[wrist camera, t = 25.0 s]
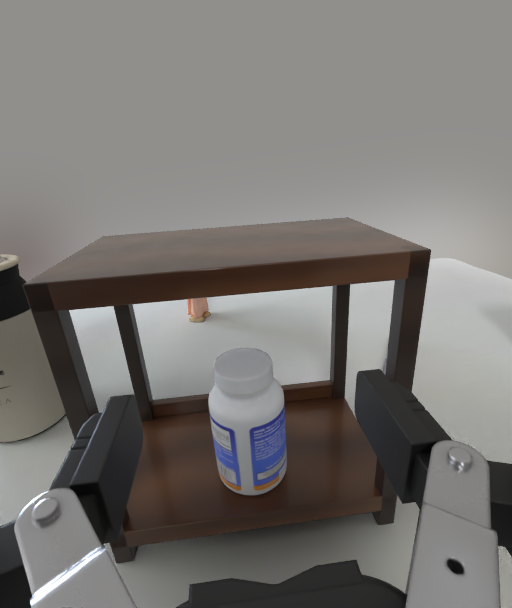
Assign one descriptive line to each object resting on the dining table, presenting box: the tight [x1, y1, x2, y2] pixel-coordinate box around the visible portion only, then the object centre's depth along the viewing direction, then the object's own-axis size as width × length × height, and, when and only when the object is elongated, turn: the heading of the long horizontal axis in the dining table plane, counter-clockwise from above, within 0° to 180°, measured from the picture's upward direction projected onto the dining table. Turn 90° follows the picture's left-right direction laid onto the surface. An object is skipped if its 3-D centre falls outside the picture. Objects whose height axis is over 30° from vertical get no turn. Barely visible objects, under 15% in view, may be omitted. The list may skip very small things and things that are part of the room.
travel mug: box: [0, 255, 66, 442], centre depth 35 cm, size 8×8×18 cm
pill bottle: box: [208, 348, 287, 495], centre depth 25 cm, size 5×5×10 cm
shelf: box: [23, 218, 431, 563], centre depth 26 cm, size 12×20×20 cm, turn 96°
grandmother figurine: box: [188, 297, 211, 322], centre depth 59 cm, size 8×4×13 cm, turn 169°
